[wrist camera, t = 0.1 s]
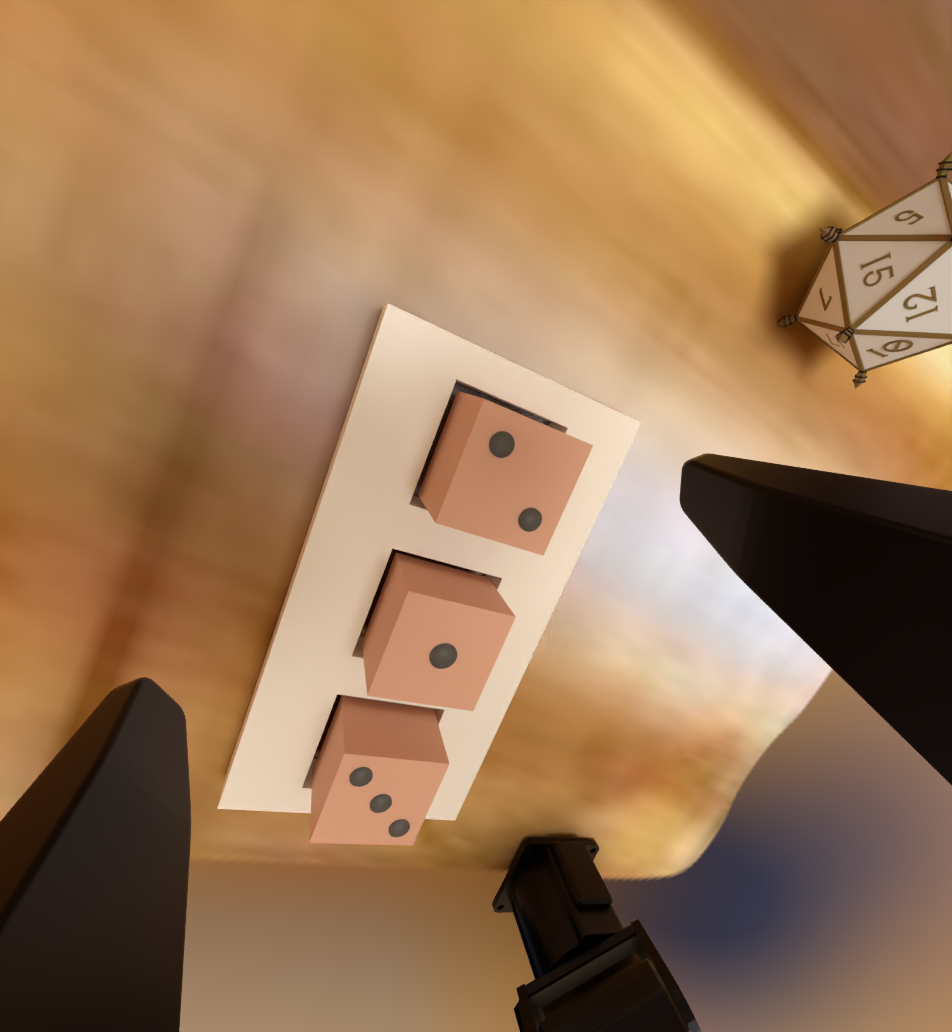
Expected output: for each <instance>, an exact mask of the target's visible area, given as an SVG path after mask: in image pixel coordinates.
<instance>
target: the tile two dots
mask: <svg viewBox="0 0 952 1032" xmlns="http://www.w3.org/2000/svg"><path fill="white" fill-rule="evenodd" d="M592 447H593V445H591V444H589V443H586V442H584V441H582V440H579V439H577V438H575V437H572V436H570V435H568V434H565V433H563V432H561V431H558V430H556V429H554V428H551V427H549V426H547V425H544V424H542V423H540V422H537V421H535V420H533V419H530V418H528V417H526V416H523V415H521V414H519V413H516V412H514V411H512V410H509V409H507V408H505V407H502V406H500V405H498V404H495V403H493V402H491V401H488V400H486V399H483V398H480V397H476V396H473V395H470V394H466V393H463V392H459V391H457V394H456V396H455V399H454V402H453V404H452V407H451V409H450V412H449V415H448V417H447V420H446V423H445V425H444V428H443V430H442V433H441V436H440V438H439V441H438V444H437V446H436V449H435V451H434V454H433V457H432V459H431V462H430V465H429V467H428V470H427V472H426V475H425V478H424V480H423V483H422V486H421V488H420V491H419V493H418V496H419V497H420V499H421V500H422V502H423V504H424V505H425V507H426V509H427V510H428V512H429V513H430V515H431V517H432V518H433V520H434V522H435V523H437V524H440V525H444V526H447V527H450V528H454V529H457V530H460V531H463V532H467V533H470V534H473V535H477V536H480V537H483V538H486V539H490V540H493V541H496V542H500V543H503V544H506V545H510V546H513V547H516V548H519V549H523V550H526V551H529V552H533V553H536V554H539V555H542V556H544V554H545V551H546V549H547V547H548V545H549V542H550V540H551V538H552V536H553V534H554V531H555V529H556V527H557V525H558V522H559V520H560V518H561V516H562V514H563V511H564V509H565V507H566V505H567V503H568V500H569V498H570V496H571V494H572V491H573V489H574V487H575V485H576V483H577V480H578V478H579V476H580V474H581V472H582V469H583V467H584V465H585V463H586V460H587V458H588V456H589V454H590V452H591V449H592Z"/></svg>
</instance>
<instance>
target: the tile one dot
mask: <svg viewBox="0 0 952 1032" xmlns="http://www.w3.org/2000/svg"><path fill="white" fill-rule="evenodd" d="M515 618H516V616H515V615H514V614H513V612H512V611H511V609H510V608H509V606H508V605H507V604H506V602H505V601H504V599H503V598H502V596H501V595H500V594H499V592H498V591H497V589H496V588H495V586H494V585H493V584H492V582H491V581H490V579H489V578H488V577H485V576H481V575H477V574H474V573H470V572H466V571H462V570H459V569H455V568H451V567H448V566H444V565H440V564H436V563H433V562H429V561H425V560H422V559H418V558H414V557H410V556H407V555H403V554H399V553H396V554H395V556H394V559H393V562H392V564H391V567H390V569H389V572H388V575H387V577H386V580H385V583H384V585H383V588H382V590H381V593H380V596H379V598H378V601H377V604H376V606H375V609H374V611H373V614H372V617H371V619H370V622H369V625H368V627H367V630H366V632H365V635H364V638H363V640H362V650H363V660H364V669H365V679H366V688H367V696H372V697H379V698H386V699H393V700H399V701H406V702H413V703H420V704H427V705H434V706H440V707H447V708H454V709H461V710H468V711H474V709H475V706H476V704H477V702H478V700H479V698H480V695H481V693H482V691H483V689H484V686H485V684H486V682H487V680H488V678H489V675H490V673H491V671H492V669H493V666H494V664H495V662H496V660H497V658H498V655H499V653H500V651H501V649H502V647H503V644H504V642H505V640H506V638H507V635H508V633H509V631H510V629H511V627H512V624H513V622H514V620H515Z"/></svg>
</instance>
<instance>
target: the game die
mask: <svg viewBox="0 0 952 1032" xmlns="http://www.w3.org/2000/svg"><path fill="white" fill-rule="evenodd" d="M938 164H939V168H938V169H937V170H936V171H937V177H936V178H935V179H934V180H932V181H930V182H929V183H927V184H925V185H923V186H922V187H920V188H918V189H916V190H915V191H913V192H911V193H909V194H908V195H906V196H904V197H902V198H901V199H899V200H897V201H895V202H894V203H892V204H890V205H888V206H887V207H885V208H883V209H881V210H880V211H878V212H876V213H874V214H873V215H871V216H869V217H867V218H866V219H864V220H862V221H860V222H859V223H857V224H855V225H853V226H852V227H850V228H848V229H846V230H845V231H842V229H836V230H834V229H833V228H834V227H827V228H820V230H821V239H825V242H827V241H830V242H831V243H830V245H829V247H828V249H827V251H826V253H825V255H824V257H823V259H822V261H821V264H820V266H819V268H818V270H817V272H816V274H815V276H814V278H813V280H812V282H811V284H810V287H809V289H808V291H807V293H806V295H805V297H804V299H803V301H802V303H801V305H800V307H799V310H798V312H797V314H796V315H791V316H790V315H789V316H787V317H785V316H784V318H783V319H782V320H781V321H780V322H779V323H778V324H777V325H782V326H785V327H786V326H787V325H789V324H790V325H791V324H792V323H793V322H795V321H798V322H799V323H800V324H802V325H803V326H804V327H805V328H807V329H808V330H809V331H810V332H812V333H813V334H814V335H815V336H817V337H818V338H819V339H820V340H822V341H823V342H824V343H825V344H826V345H828V346H829V347H830V348H831V349H833V350H834V351H835V352H836V353H838V354H839V355H840V356H841V357H843V358H844V359H845V360H846V361H848V362H849V363H850V364H851V365H853V366H854V367H855V368H856V369H857V370H859V372H858V373H857V375H855V379H853V382H854V385H855V389H856V388H857V387H858V386H860V385H861V384H862V383H864V382H866V381H865V378H867V376H866V372H867V371H870V370H873V369H876V368H879V367H882V366H885V365H888V364H891V363H894V362H897V361H900V360H903V359H906V358H909V357H912V356H916V355H919V354H922V353H925V352H928V351H931V350H934V349H937V348H940V347H943V346H946V345H949V344H952V181H950V180H949V179H947V174H948V173H949V171H951V170H952V152H951V153H950V154H949V155H948V156H947V157H946V158H945V159H944V160H943V161H942V162H941V163H938Z"/></svg>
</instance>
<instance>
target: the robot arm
mask: <svg viewBox="0 0 952 1032" xmlns="http://www.w3.org/2000/svg"><path fill="white" fill-rule="evenodd" d="M680 504H681V507H682V509H683V511H684V513H685V514H686V515H687V516H688V518H689V519H690V520H691V521H692V522H693V524H694V525H695V526H696V527H697V528H698V530H699V531H700V532H701V533H702V534H703V536H704V537H705V538H706V539H707V540H708V542H709V543H710V544H711V545H712V546H713V548H714V549H715V550H716V551H717V552H718V554H719V555H720V556H721V557H722V558H723V560H724V561H725V562H726V563H727V564H728V566H729V567H730V568H731V569H732V570H733V571H734V572H735V573H736V575H737V576H738V577H739V578H740V579H741V580H742V581H743V582H744V583H745V584H746V585H747V586H748V587H749V588H750V589H751V590H752V591H753V592H754V593H755V594H756V595H757V596H758V597H759V598H760V599H761V600H762V601H763V602H765V603H766V604H767V605H768V606H769V607H770V608H771V609H772V610H773V611H774V612H775V613H776V614H777V615H778V616H779V617H780V618H781V619H782V620H783V621H784V622H785V623H786V624H787V625H788V626H789V627H790V628H791V629H792V630H793V631H794V632H795V633H796V634H797V635H798V636H799V637H800V638H801V639H802V640H803V641H804V642H805V643H806V644H808V645H809V646H810V647H811V648H812V649H813V650H814V651H815V652H816V653H817V654H818V655H819V656H820V657H821V658H822V659H823V660H824V661H825V662H826V663H827V664H828V665H829V666H830V667H831V668H832V669H833V670H834V671H835V672H836V673H837V674H838V675H839V676H840V677H841V678H842V679H843V680H844V681H845V682H846V683H848V685H850V686H851V687H852V688H853V689H854V690H855V691H856V692H857V693H858V694H859V695H860V696H861V697H862V698H863V699H864V700H865V701H866V702H867V703H868V704H869V705H870V706H871V707H872V708H873V709H874V710H875V711H876V712H877V713H878V714H879V715H880V716H881V717H882V718H883V719H884V720H885V721H886V722H887V723H889V725H890V726H892V727H893V728H894V729H895V730H896V731H897V732H898V733H899V734H900V735H901V736H902V737H903V738H904V739H905V740H906V741H907V742H908V743H909V744H910V745H911V746H912V747H913V748H914V749H915V750H916V751H917V752H918V753H919V754H920V755H921V756H922V757H923V758H924V759H925V760H926V761H927V762H928V763H929V764H930V765H931V766H932V767H933V768H935V769H936V770H937V771H938V772H939V773H940V774H941V775H942V776H943V777H944V778H945V779H946V780H947V781H948V782H949V783H950V784H951V785H952V491H948V490H942V489H935V488H929V487H922V486H916V485H909V484H903V483H896V482H890V481H883V480H877V479H871V478H864V477H858V476H851V475H845V474H838V473H832V472H825V471H819V470H813V469H806V468H800V467H793V466H787V465H780V464H774V463H767V462H761V461H754V460H748V459H742V458H735V457H729V456H722V455H716V454H703V455H700V456H697V457H695V458H692V459H690V460H688V461H686V462H685V463H684V465H683V467H682V474H681V487H680ZM190 840H191V802H190V784H189V767H188V749H187V731H186V719H185V715H184V712H183V710H182V708H181V707H180V706H179V704H178V703H176V702H175V701H174V700H173V699H172V698H171V697H170V696H169V695H168V694H167V693H166V692H165V691H164V690H163V689H162V688H161V687H160V686H158V685H157V684H156V683H155V682H154V681H153V680H152V679H149V678H146V677H144V678H138V679H136V680H133V681H131V682H128V683H126V684H123V685H121V686H118V687H116V688H115V689H113V690H112V691H111V692H110V693H109V694H108V695H107V696H106V697H105V698H104V700H103V701H102V702H101V703H100V704H99V706H98V707H97V708H96V709H95V710H94V711H93V713H92V714H91V715H90V716H89V717H88V719H87V720H86V721H85V722H84V723H83V724H82V726H81V727H80V728H79V729H78V730H77V732H76V733H75V734H74V735H73V736H72V737H71V739H70V740H69V741H68V742H67V743H66V745H65V746H64V747H63V748H62V749H61V750H60V752H59V753H58V754H57V755H56V756H55V757H54V759H53V760H52V761H51V762H50V763H49V765H48V766H47V767H46V768H45V769H44V770H43V772H42V773H41V774H40V775H39V776H38V778H37V779H36V780H35V781H34V782H33V783H32V785H31V786H30V787H29V788H28V789H27V791H26V792H25V793H24V794H23V795H22V796H21V798H20V799H19V800H18V801H17V802H16V804H15V805H14V806H13V807H12V808H11V809H10V811H9V812H8V813H7V814H6V815H5V817H4V818H3V819H2V820H1V821H0V1032H179V1027H180V1010H181V993H182V976H183V975H182V974H183V959H184V941H185V924H186V908H187V891H188V874H189V857H190ZM598 851H599V846H598V844H597V843H596V841H594V840H569V839H541V838H529V839H527V840H525V841H524V842H523V844H522V845H521V847H520V849H519V851H518V853H517V855H516V857H515V859H514V861H513V863H512V865H511V867H510V869H509V871H508V873H507V875H506V877H505V879H504V881H503V883H502V885H501V887H500V889H499V891H498V892H497V894H496V896H495V899H494V900H493V903H492V905H493V908H494V911H495V912H498V913H499V912H513V913H514V916H515V919H516V922H517V925H518V928H519V931H520V934H521V938H522V941H523V944H524V947H525V950H526V953H527V956H528V959H529V962H530V965H531V968H532V971H533V974H534V977H535V980H534V981H532V982H530V983H529V984H527V985H525V984H523V985H521V986H520V987H518V988H517V993H518V996H519V1002H518V1003H517V1005H516V1006H515V1008H514V1011H515V1015H516V1019H517V1022H518V1026H519V1029H520V1032H701V1030H700V1028H699V1026H698V1023H697V1021H696V1019H695V1017H694V1015H693V1013H692V1011H691V1009H690V1007H689V1005H688V1003H687V1001H686V999H685V997H684V996H683V994H682V992H681V990H680V988H679V986H678V985H677V983H676V981H675V980H674V978H673V976H672V975H671V973H670V971H669V970H668V968H667V966H666V965H665V963H664V961H663V960H662V958H661V957H660V955H659V953H658V951H657V950H656V948H655V946H654V945H653V943H652V942H651V940H650V938H649V937H648V935H647V933H646V931H645V930H644V928H643V926H642V925H641V923H640V922H639V920H638V919H635V920H633V921H632V922H630V923H631V924H630V925H629V926H627V927H625V928H623V926H622V925H621V923H620V921H619V918H618V917H617V915H616V913H615V911H614V909H613V907H612V905H611V904H612V902H613V900H612V897H611V895H610V894H609V892H608V890H607V888H606V886H605V884H604V882H603V880H602V878H601V876H600V874H599V872H598V870H597V868H596V866H595V864H594V862H593V860H594V858H595V856H596V854H597V852H598Z"/></svg>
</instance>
